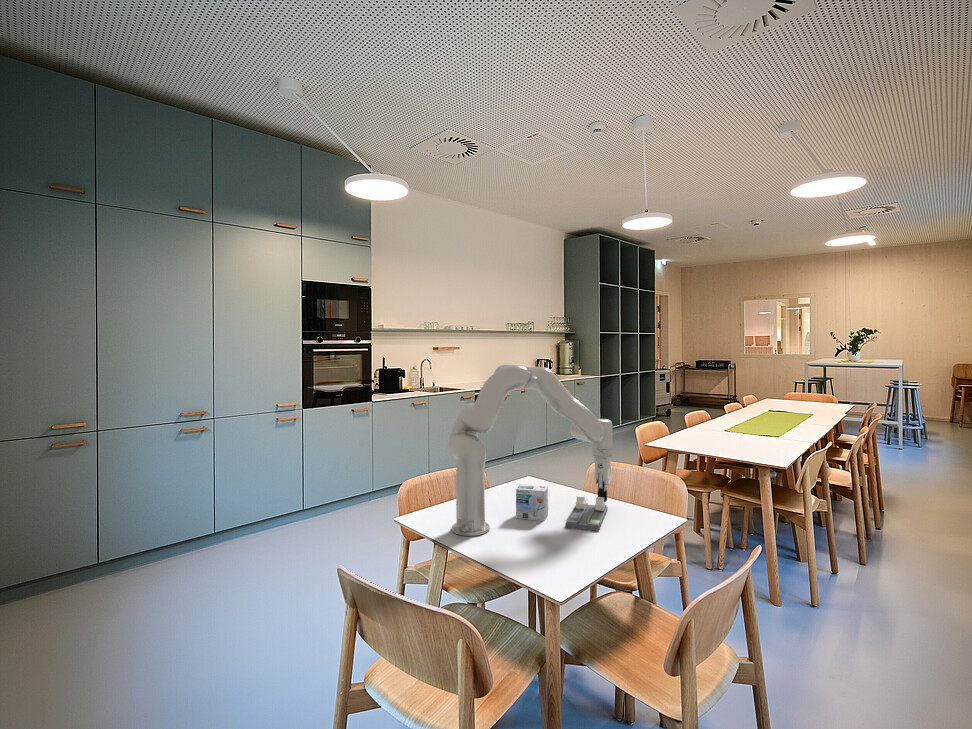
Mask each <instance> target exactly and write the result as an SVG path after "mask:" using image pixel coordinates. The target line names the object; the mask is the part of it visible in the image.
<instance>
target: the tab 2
mask: <svg viewBox="0 0 972 729" xmlns="http://www.w3.org/2000/svg"><path fill="white" fill-rule="evenodd" d="M594 505H595V510H599V511H604V509H605V505H606V502H604V497H598V496H596V498H595V504H594Z"/></svg>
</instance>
